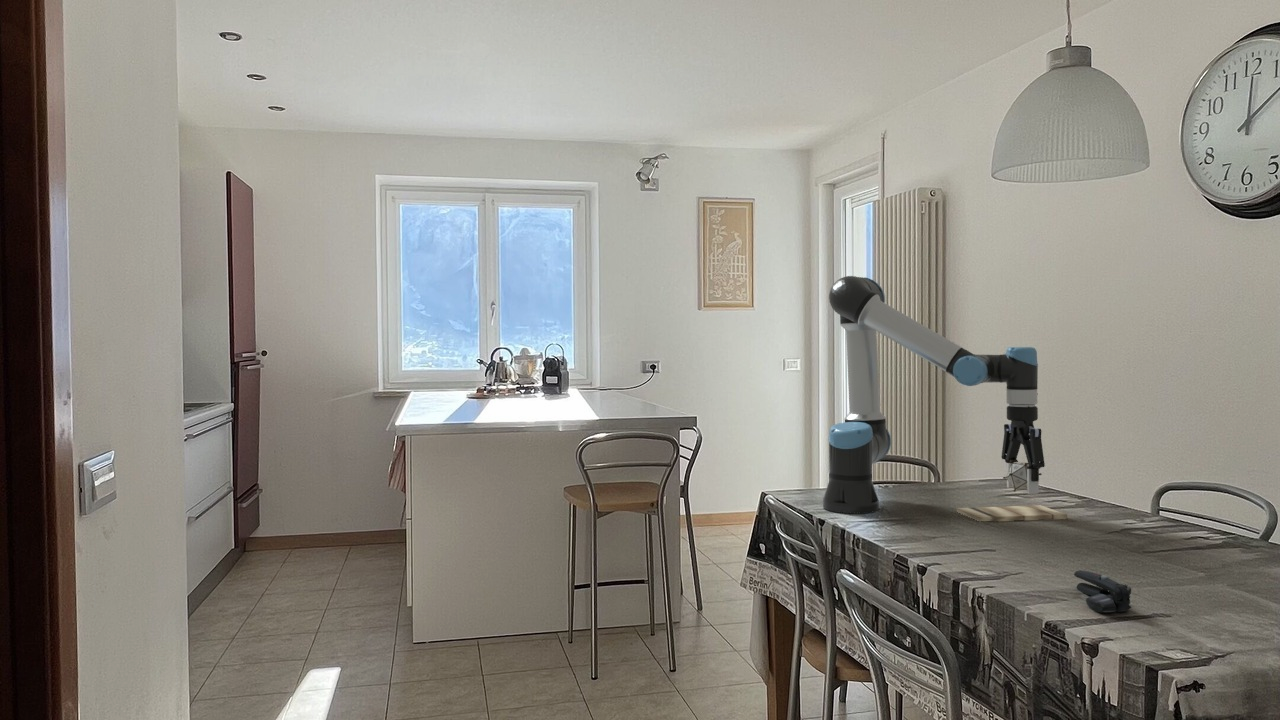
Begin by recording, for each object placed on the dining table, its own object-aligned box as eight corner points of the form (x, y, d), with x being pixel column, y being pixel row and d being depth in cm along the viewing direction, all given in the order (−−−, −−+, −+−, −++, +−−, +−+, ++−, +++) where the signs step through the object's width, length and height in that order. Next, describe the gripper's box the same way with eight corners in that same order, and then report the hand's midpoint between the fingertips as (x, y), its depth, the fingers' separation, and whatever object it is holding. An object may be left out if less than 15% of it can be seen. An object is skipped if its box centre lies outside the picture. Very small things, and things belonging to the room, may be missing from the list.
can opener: (1141, 619, 148) (1142, 586, 147) (1098, 618, 148) (1098, 585, 148) (1098, 588, 165) (1099, 559, 165) (1060, 587, 166) (1060, 558, 166)
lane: (979, 522, 222) (979, 517, 222) (957, 512, 234) (957, 508, 234) (1067, 518, 225) (1067, 514, 225) (1040, 509, 237) (1040, 505, 237)
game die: (1014, 504, 230) (990, 473, 233) (1035, 490, 233) (1011, 459, 237) (1033, 493, 222) (1008, 460, 226) (1055, 479, 226) (1030, 447, 229)
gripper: (1060, 408, 219) (1060, 497, 219) (1012, 402, 240) (1013, 483, 241) (1032, 409, 218) (1032, 498, 218) (987, 402, 239) (987, 484, 240)
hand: (1022, 490), depth 230 cm, fingers closed on game die, 9 cm apart
